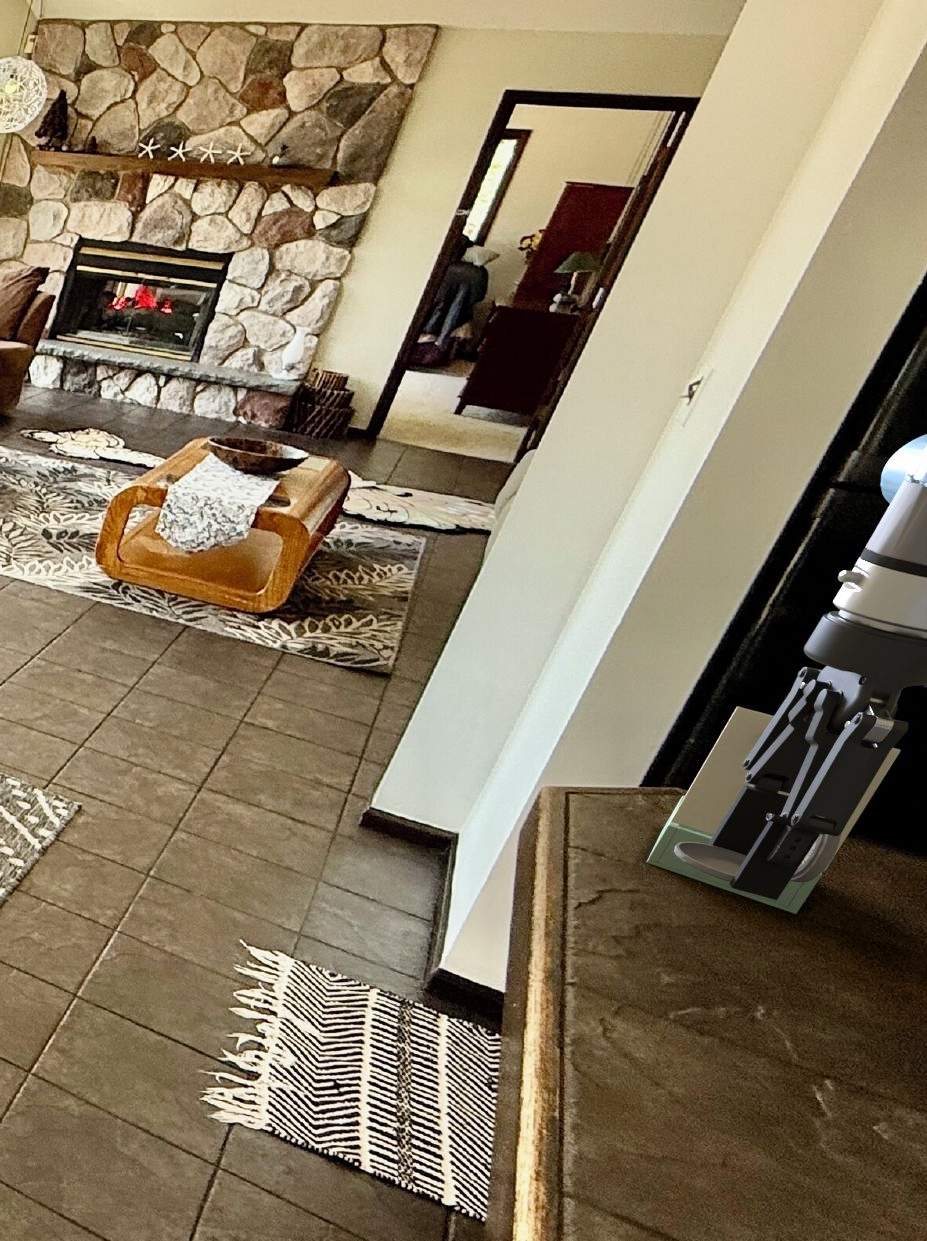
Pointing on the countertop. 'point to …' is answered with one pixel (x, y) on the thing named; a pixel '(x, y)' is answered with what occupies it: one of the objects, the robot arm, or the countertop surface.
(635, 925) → the countertop surface
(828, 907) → the countertop surface
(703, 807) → the cream coin bank
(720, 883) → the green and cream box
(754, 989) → the countertop surface
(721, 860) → the pocket watch
